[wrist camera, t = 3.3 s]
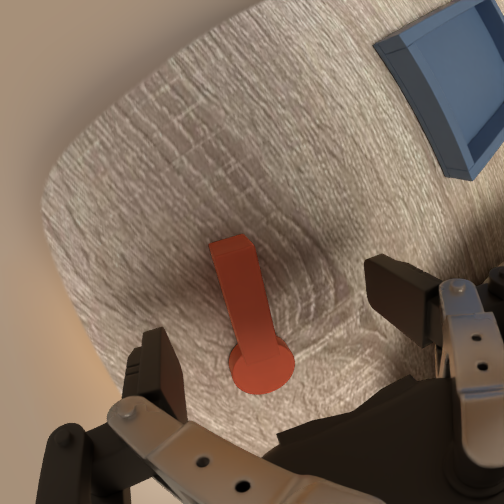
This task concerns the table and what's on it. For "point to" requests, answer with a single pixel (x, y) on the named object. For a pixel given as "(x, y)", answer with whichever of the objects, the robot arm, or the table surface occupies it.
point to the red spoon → (250, 319)
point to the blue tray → (454, 81)
